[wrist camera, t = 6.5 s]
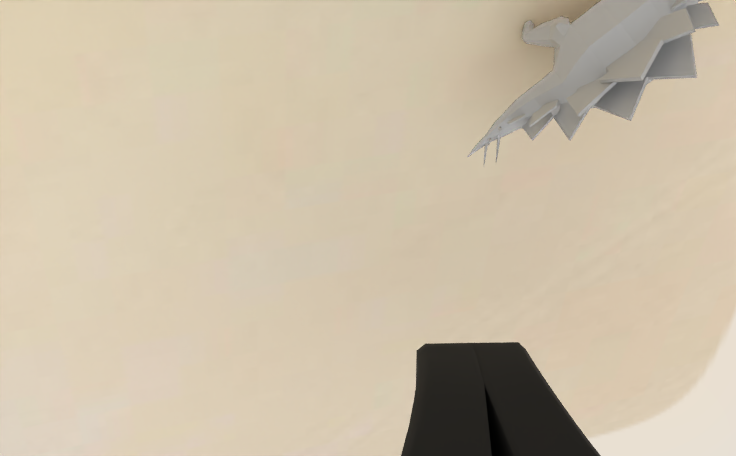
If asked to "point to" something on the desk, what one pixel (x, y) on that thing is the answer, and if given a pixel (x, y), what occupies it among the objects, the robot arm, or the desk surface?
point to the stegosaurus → (604, 62)
